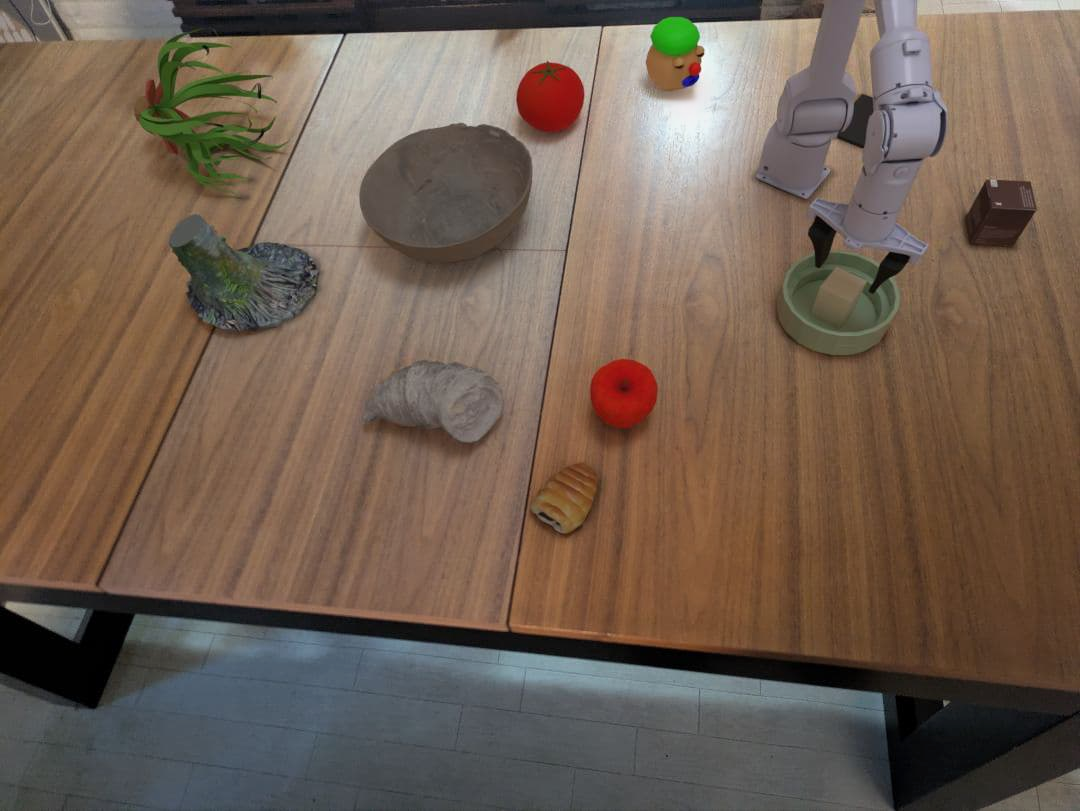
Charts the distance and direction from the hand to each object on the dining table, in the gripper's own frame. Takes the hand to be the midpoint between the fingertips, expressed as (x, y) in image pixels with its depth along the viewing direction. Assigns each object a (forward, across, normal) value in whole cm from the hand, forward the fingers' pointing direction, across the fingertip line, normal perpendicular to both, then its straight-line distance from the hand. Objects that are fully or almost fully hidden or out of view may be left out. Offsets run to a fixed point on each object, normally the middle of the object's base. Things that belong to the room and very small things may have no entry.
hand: (847, 275), depth 94 cm
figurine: (+8, -48, +31) cm, 58 cm away
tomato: (+8, -61, +11) cm, 63 cm away
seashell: (+8, -34, -47) cm, 59 cm away
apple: (+8, -14, -31) cm, 35 cm away
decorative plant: (+8, -108, -30) cm, 112 cm away
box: (+8, +11, +27) cm, 30 cm away
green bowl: (+8, 0, 0) cm, 8 cm away
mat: (+8, -12, +40) cm, 43 cm away
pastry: (+8, -12, -46) cm, 48 cm away
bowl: (+8, -58, -18) cm, 61 cm away
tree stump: (+8, -75, -48) cm, 89 cm away
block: (+8, 0, 0) cm, 8 cm away
